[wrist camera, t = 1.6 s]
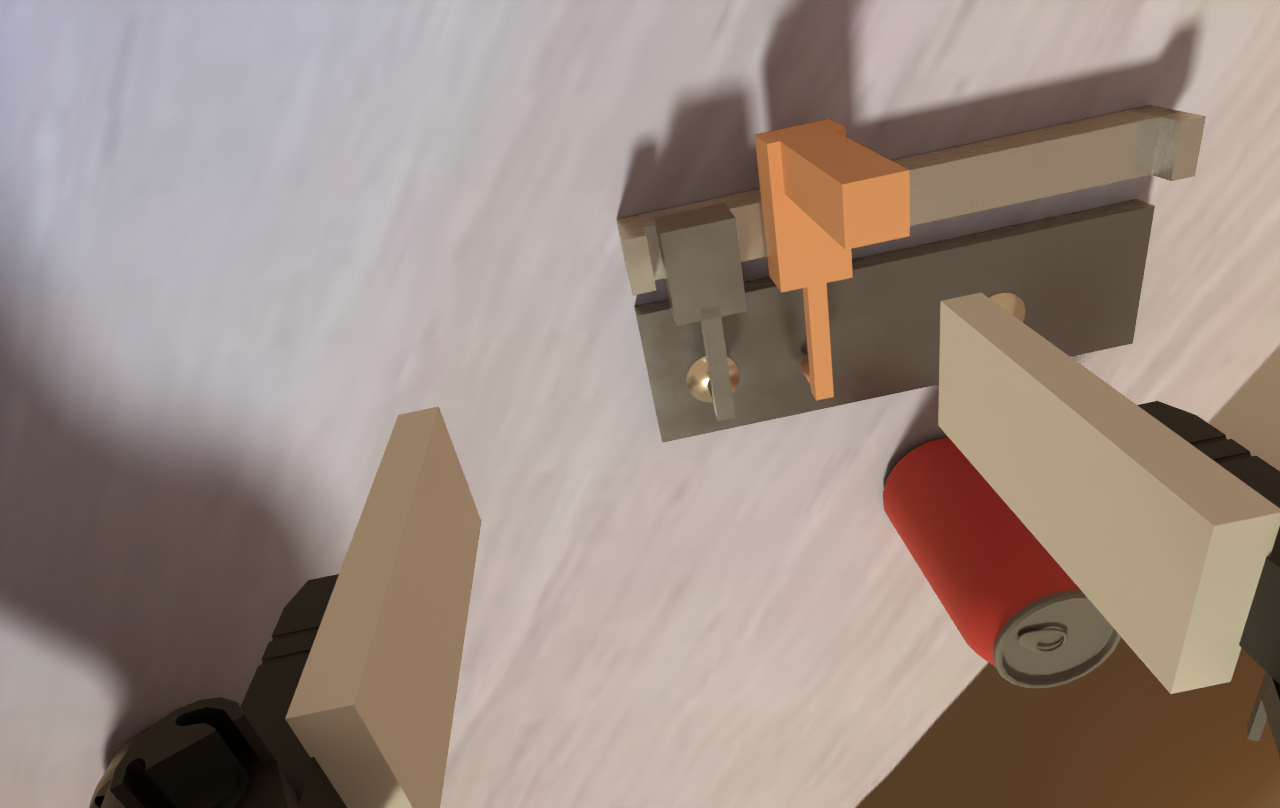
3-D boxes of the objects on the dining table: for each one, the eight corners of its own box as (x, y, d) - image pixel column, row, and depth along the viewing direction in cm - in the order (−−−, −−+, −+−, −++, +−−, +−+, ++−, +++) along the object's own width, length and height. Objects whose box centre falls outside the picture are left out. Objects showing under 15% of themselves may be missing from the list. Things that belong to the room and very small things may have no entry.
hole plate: (659, 430, 39) (662, 442, 37) (634, 306, 35) (636, 316, 34) (1116, 333, 38) (1133, 343, 37) (1136, 199, 35) (1155, 206, 34)
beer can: (906, 422, 40) (1030, 577, 29) (1013, 441, 41) (1168, 595, 31) (860, 519, 43) (958, 691, 32) (962, 534, 44) (1087, 703, 34)
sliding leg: (778, 380, 36) (844, 498, 27) (751, 132, 30) (825, 187, 22) (839, 366, 36) (924, 481, 27) (824, 116, 30) (926, 166, 22)
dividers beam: (651, 388, 37) (661, 433, 34) (615, 212, 33) (622, 241, 29) (1123, 288, 37) (1186, 322, 33) (1151, 98, 33) (1228, 112, 29)
